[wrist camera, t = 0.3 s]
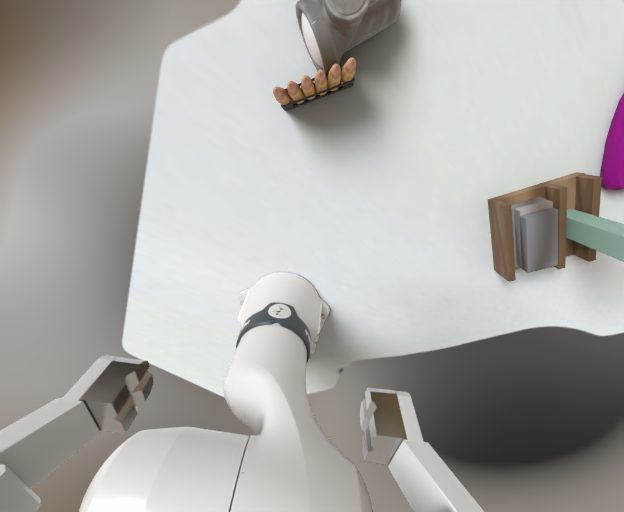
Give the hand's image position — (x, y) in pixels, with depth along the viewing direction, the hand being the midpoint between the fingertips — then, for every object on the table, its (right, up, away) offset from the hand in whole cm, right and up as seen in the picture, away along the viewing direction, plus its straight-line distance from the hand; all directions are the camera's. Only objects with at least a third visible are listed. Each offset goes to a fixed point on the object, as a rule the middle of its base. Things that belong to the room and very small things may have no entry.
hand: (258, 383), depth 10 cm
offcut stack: (+38, +9, +36) cm, 53 cm away
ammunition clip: (+3, +29, +30) cm, 42 cm away
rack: (+40, +10, +37) cm, 55 cm away
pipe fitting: (+7, +36, +27) cm, 45 cm away
